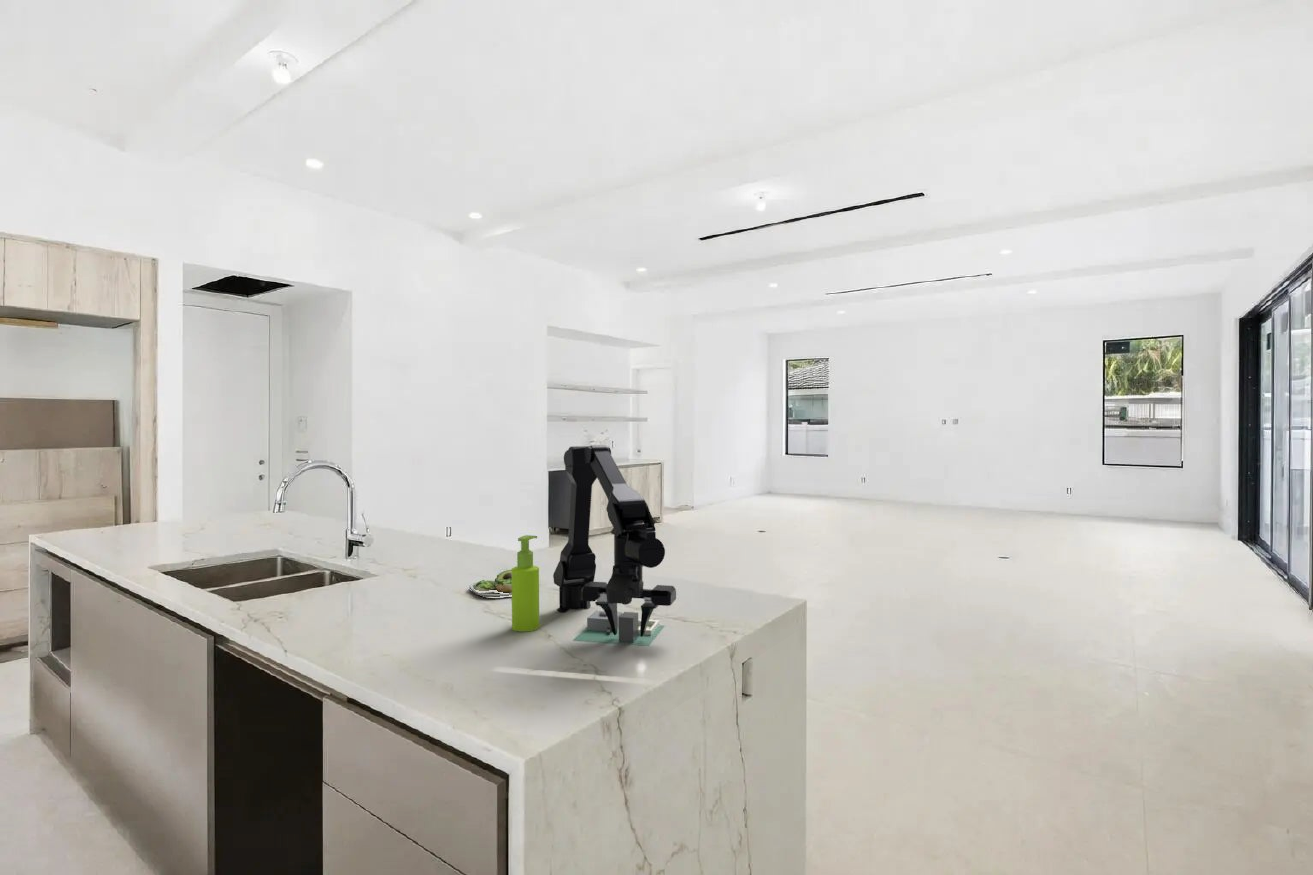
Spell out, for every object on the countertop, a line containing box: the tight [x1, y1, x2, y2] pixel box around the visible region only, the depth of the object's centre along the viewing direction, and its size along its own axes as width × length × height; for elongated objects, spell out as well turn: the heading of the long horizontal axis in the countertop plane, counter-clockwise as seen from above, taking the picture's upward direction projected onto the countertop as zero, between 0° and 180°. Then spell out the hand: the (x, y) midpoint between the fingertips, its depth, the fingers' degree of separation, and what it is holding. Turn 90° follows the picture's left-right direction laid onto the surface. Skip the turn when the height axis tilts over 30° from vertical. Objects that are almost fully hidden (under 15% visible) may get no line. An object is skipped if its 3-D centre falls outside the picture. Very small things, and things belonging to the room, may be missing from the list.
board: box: [572, 610, 665, 647], centre depth 146 cm, size 16×14×4 cm
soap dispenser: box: [511, 534, 540, 632], centre depth 153 cm, size 6×7×20 cm
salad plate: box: [469, 569, 512, 597], centre depth 186 cm, size 19×18×5 cm
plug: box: [619, 611, 639, 643], centre depth 142 cm, size 3×5×5 cm, turn 166°
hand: (628, 635), depth 142 cm, fingers open, 5 cm apart
